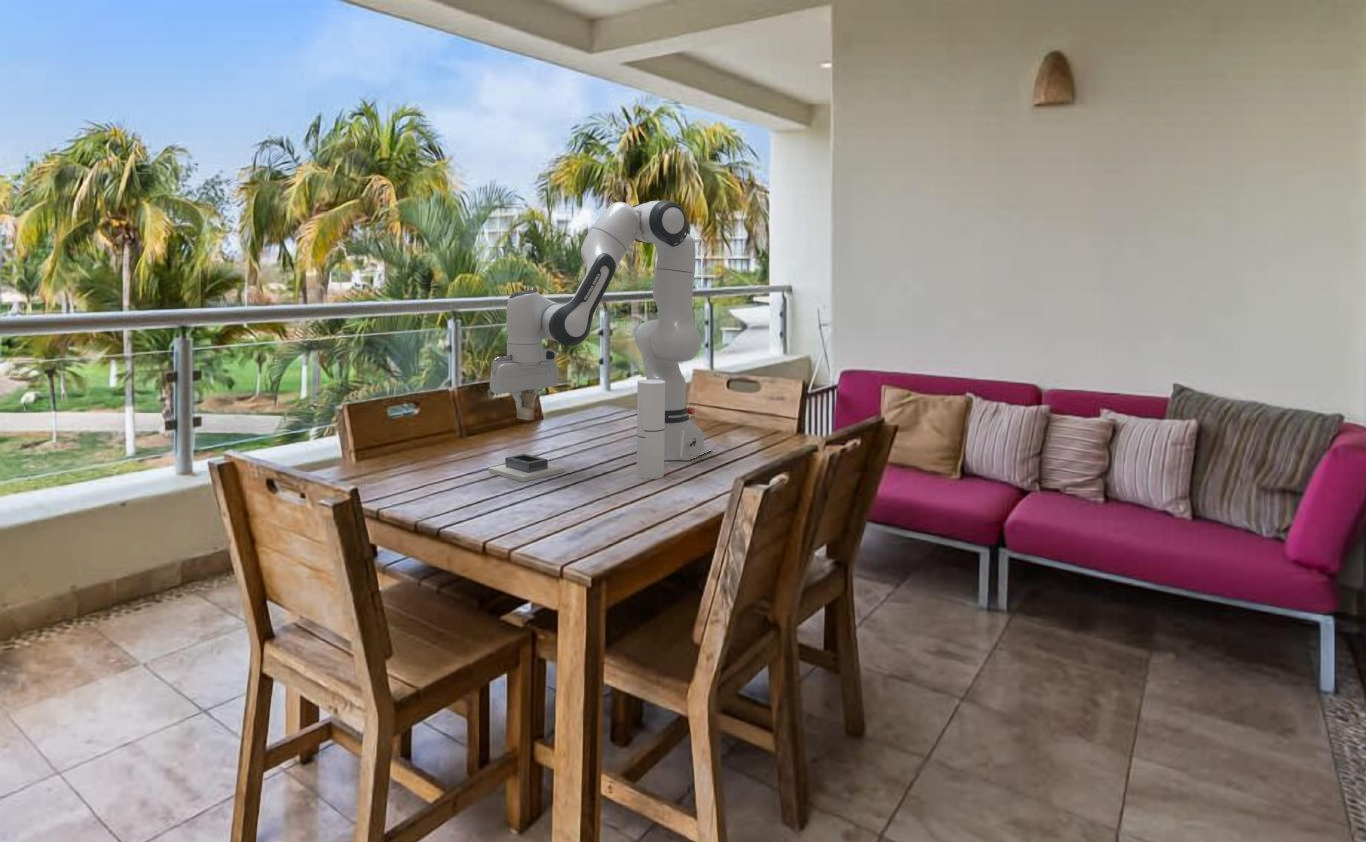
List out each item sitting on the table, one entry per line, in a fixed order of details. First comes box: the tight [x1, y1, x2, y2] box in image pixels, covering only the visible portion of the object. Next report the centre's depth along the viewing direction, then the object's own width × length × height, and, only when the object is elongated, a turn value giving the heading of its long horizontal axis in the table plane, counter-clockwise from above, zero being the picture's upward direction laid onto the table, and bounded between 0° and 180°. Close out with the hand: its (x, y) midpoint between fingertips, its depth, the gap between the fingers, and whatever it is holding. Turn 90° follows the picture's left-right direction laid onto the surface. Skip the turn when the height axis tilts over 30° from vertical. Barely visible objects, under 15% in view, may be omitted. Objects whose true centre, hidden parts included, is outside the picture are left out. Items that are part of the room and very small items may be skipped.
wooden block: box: [516, 390, 535, 421], centre depth 212 cm, size 2×4×7 cm, turn 50°
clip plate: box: [488, 463, 565, 483], centre depth 215 cm, size 14×14×1 cm
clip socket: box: [504, 453, 549, 473], centre depth 215 cm, size 6×9×2 cm
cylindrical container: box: [636, 379, 665, 480], centre depth 212 cm, size 7×7×25 cm
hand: (525, 407), depth 212 cm, fingers closed on wooden block, 2 cm apart
